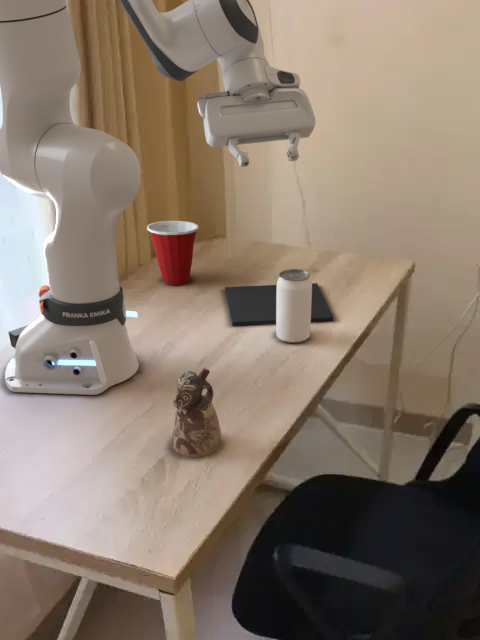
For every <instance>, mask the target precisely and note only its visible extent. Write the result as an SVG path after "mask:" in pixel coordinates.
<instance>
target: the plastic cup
mask: <svg viewBox="0 0 480 640" xmlns="http://www.w3.org/2000/svg"><path fill="white" fill-rule="evenodd" d="M198 230H199V225H198V224H196V223H195V222H191V221H184V220H161V221H156V222H151V223H150V224H148V225H147V226H146V231H148V233H149V236H150V238H151V242H152V245H153V248H154V252H155V257H156V260H157V264H158V267H159V271H160V276H161V279H162V280H163V283H164V284H165V285H170V286H183V285H185V284H188V283H189V282H190V279H191V271H192V266H193V256H194V255H193V254H194V245H195V239H196V235H197V231H198Z"/></svg>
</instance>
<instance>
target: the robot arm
mask: <svg viewBox="0 0 480 640" xmlns="http://www.w3.org/2000/svg"><path fill="white" fill-rule="evenodd" d="M118 1H119V3H120V5H121V7H122V8H123V10H124V11H125V13H126V15H127V16H128V19H129V20H130V22H131V23H132V25H133V26H134V28H135V30H136V31H137V33H138V35H139V36H140V38H141V40H142V41H143V43H144V45H145V47H146V49H147V51H148V53H149V55H150V57H151V61H153V64H154V66H155V67H156V69H157V70H158V71H159V73H160V74H161V75H162V76H163V77H165V78H168V79H170V80H173V81H178V82H184V81H186V80H187V79H188V78H189V77H191V76H192V75H194V74H195V73H197V72H198V71H199V70H201V69H202V68H204V67H206V66H207V65H209V64H211V63H213V62H214V61H216V60H217V62H218V64H219V66H220V68H221V70H222V71H221V72H222V73H221V77H222V83H223V87H224V90H225V91H218V92H212V93H211V92H206V93H203V95H202V96H200V97H199V98H198V99H197V102H196V104H197V110H198V112H199V116H201V117H202V118H203V130H204V136H205V141H206V144H208V146H210V147H211V148H213V149H214V148H222V147H227V149H228V151H229V153H230V154H231V155H232V156H233V157H234V158H235V159H236V160H237V162H238V166H239V168H244V167H248V166H249V164H250V158H249V155H248V152H243V151H242V150H241V148H240V147H239V146H242V145H250V144H259V143H269V142H277V141H278V142H279V141H286V140H288V142H289V144H290V145H292V146H291V147H288V149H287V152H286V155H287V157H288V161H289V162H296V161H298V159H299V157H300V154H299V150H298V146H299V142H300V139H304V138H305V139H306V138H309V137H310V136H311V134H312V133H313V131H314V130H315V127H316V116H315V113H314V111H313V107H312V105H311V102H310V101H311V100H309V97H308V95H307V94H306V92H305V90H304V89H302V88H301V78H300V76H299V74H298V73H296V72H291V71H287V70H282V69H280V68H275V67H273V66H270V62H269V61H268V60H267V58H266V56H265V44H264V40H263V36H262V33H261V30H260V27H259V24H258V19H257V16H256V12H255V10H254V8H253V6H252V4H251V2H250V0H187V1H185V2H183V3H182V4H180V5H178V6H177V7H175V8H174V9H171V10H169V11H165V12H160V11H158V9H157V7H156V4H154V2H153V0H118ZM81 74H82V65H81V59H80V56H79V51H78V47H77V42H76V38H75V35H74V31H73V26H72V22H71V18H70V14H69V10H68V5H67V1H66V0H0V93H1V105H2V124H1V127H0V173H1V175H2V176H3V177H4V178H5V179H6V180H7V181H8V182H10V183H11V184H13V185H14V186H16V187H17V188H19V189H20V190H22V191H24V192H25V193H27V194H29V195H32V196H35V197H38V198H41V199H46V200H49V201H52V202H53V203H54V206H55V211H56V215H55V226H54V230H53V231H52V232H51V233H50V234H49V235H48V236H47V237H46V238H45V240H44V242H43V246H42V253H43V259H44V263H45V264H44V265H45V270H46V275H47V281H48V285H46V284H45V285H43V286H41V287H40V288H39V292H38V297H39V300H38V303H39V310H40V313H41V314H40V315H39V316H38V317H37V318H36V319H34V321H32V322H31V323H30V324H27V325H25V326H22V327H19V328H16V329H13V330H10V331H8V332H7V333H8V337H9V341H10V345H11V347H12V348H13V349H14V355H13V357H11V359H10V360H8V363H7V365H6V367H5V371H4V382H5V386H6V388H7V389H8V390H9V391H11V392H13V393H30V394H32V393H34V394H56V395H57V394H58V395H59V394H60V395H86V396H87V395H88V396H95V395H100V394H102V393H104V392H105V391H106V390H107V389H109V388H110V387H112V386H115V385H118V384H121V383H122V382H125V381H127V380H129V379H130V378H132V377H133V376H134V375H135V374H136V373H137V371H138V370H139V367H140V363H139V361H138V358H137V356H136V354H135V352H134V348H133V346H132V343H131V339H130V336H129V332H128V328H127V324H126V322H127V317H128V318H129V317H131V318H138V312H137V311H131V310H127V308H126V300H125V295H124V292H123V287H122V285H120V280H119V279H120V278H119V271H118V260H117V259H118V258H117V248H116V247H117V246H116V245H117V244H116V240H117V233H118V231H117V230H118V226H119V222H120V220H121V216H122V214H123V212H124V211H125V210H126V209H127V208H128V207H130V205H131V204H132V203H133V202H134V201H135V198H137V194H138V192H139V189H140V184H141V176H142V175H141V167H140V166H141V165H140V163H139V159H138V157H137V155H136V153H135V152H134V150H133V148H131V147H130V146H129V144H127V143H126V142H124V141H122V140H121V139H119V138H117V137H115V136H113V135H112V134H109V133H107V132H105V131H103V130H100V129H96V128H91V127H87V126H81V125H77V124H75V123H74V120H73V118H72V114H71V92H72V91H71V90H72V89H73V88H74V87H75V85H76V84H77V83H78V81H79V79H80V77H81Z"/></svg>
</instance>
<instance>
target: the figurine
mask: <svg viewBox="0 0 480 640" xmlns="http://www.w3.org/2000/svg"><path fill="white" fill-rule="evenodd" d="M210 372H211V371H210V369H207V368H206V367H203V368H202V370H201V371H200V372H199V374H197V373H195V372H194V371H191V370H187V371H186V372H184V373H183V374H182V375H181V376H180V377H179V378H178V379H177V380H176V396H175V399H173V400H172V401H171V404H172V405H173V406H174V407H175V408H176V410H175V419H174V427H173V431H172V447H173V449H174V450H175V452H176V453H177V454H180V455H183V456H185V457H191V458H201V457H205V456H209V455H210V454H212V453H214V452H215V451H216V450H217V449H218V448H219V447H220V445H221V437H222V432H221V426H220V423H219V422H220V421H219V417H218V414H217V411H216V409H215V406H214V404H213V398H214V389H213V386H212V385H211V383H210V382H209V381H208V380H207V378H208V376H209V374H210ZM205 389H206V393H205V394H204V395H203V392H204V390H205Z"/></svg>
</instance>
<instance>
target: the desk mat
mask: <svg viewBox="0 0 480 640" xmlns="http://www.w3.org/2000/svg"><path fill="white" fill-rule="evenodd" d="M276 289H277V284H270V285H269V284H267V285H266V284H265V285H263V284H262V285H243V286H242V285H241V286H224V293H225V297H226V301H227V307H228V312H229V317H230V321H231V325H232V326H234V327H235V326H236V327H237V326H254V325H255V326H258V325H276ZM333 321H334V316H333V313H332V311H331V309H330V307H329V305H328V303H327V301H326V299H325V297H324V295H323V293H322V290H321V288H320V286H319V284H318V283H317V282H312V300H311V323H321V322H333Z"/></svg>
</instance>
